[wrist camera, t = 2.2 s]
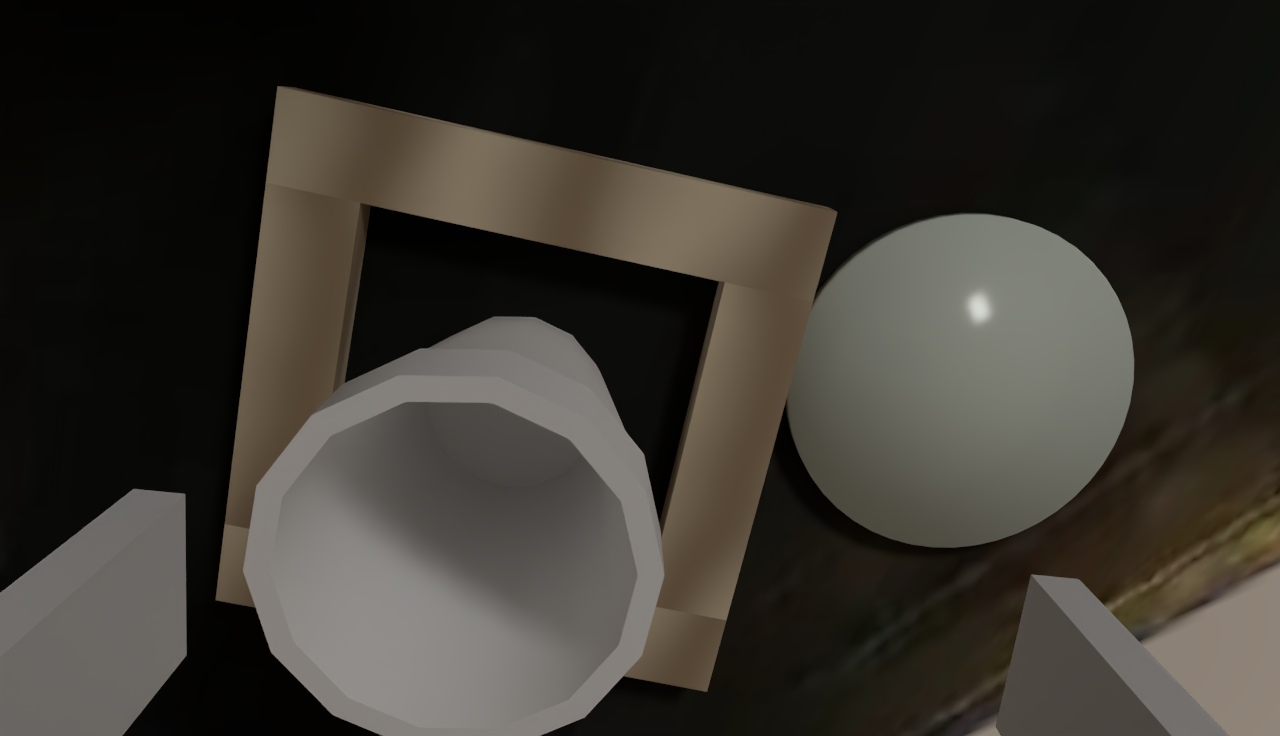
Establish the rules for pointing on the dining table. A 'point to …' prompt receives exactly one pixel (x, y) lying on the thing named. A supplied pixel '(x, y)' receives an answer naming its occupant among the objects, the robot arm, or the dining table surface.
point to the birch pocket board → (553, 214)
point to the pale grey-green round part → (960, 379)
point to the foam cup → (460, 540)
